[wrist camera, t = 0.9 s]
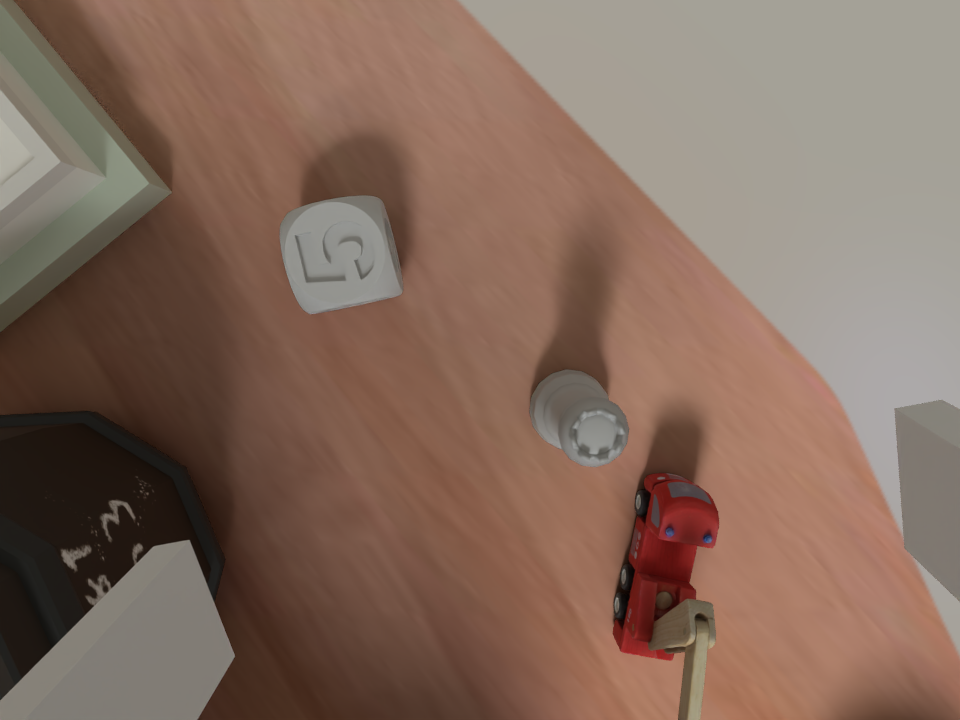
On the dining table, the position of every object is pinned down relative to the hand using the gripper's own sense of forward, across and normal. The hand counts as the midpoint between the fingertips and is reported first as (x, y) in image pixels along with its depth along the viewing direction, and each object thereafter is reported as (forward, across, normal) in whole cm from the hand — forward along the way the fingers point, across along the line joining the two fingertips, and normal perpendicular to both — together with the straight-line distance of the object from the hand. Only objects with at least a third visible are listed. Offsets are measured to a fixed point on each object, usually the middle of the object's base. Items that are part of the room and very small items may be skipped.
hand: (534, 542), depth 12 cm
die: (+25, +9, -4) cm, 27 cm away
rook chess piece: (+24, -1, +6) cm, 25 cm away
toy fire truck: (+23, -3, +18) cm, 29 cm away
